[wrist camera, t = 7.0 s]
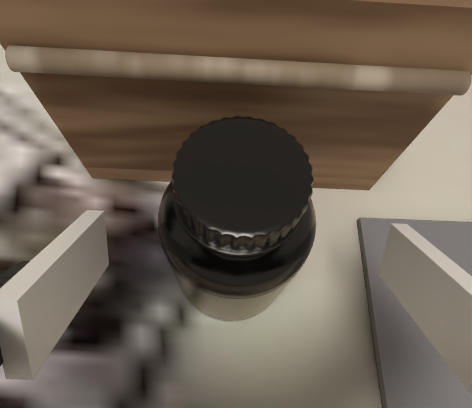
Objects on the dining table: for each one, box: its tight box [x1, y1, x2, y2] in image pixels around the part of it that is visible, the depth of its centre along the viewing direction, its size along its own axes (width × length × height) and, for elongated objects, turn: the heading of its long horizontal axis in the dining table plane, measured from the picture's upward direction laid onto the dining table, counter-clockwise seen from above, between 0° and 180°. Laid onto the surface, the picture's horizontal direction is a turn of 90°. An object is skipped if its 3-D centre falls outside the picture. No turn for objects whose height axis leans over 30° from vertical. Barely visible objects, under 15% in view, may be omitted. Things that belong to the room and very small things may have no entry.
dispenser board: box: [0, 0, 472, 190], centre depth 19 cm, size 7×20×14 cm, turn 89°
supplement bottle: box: [158, 116, 316, 321], centre depth 17 cm, size 7×7×12 cm
